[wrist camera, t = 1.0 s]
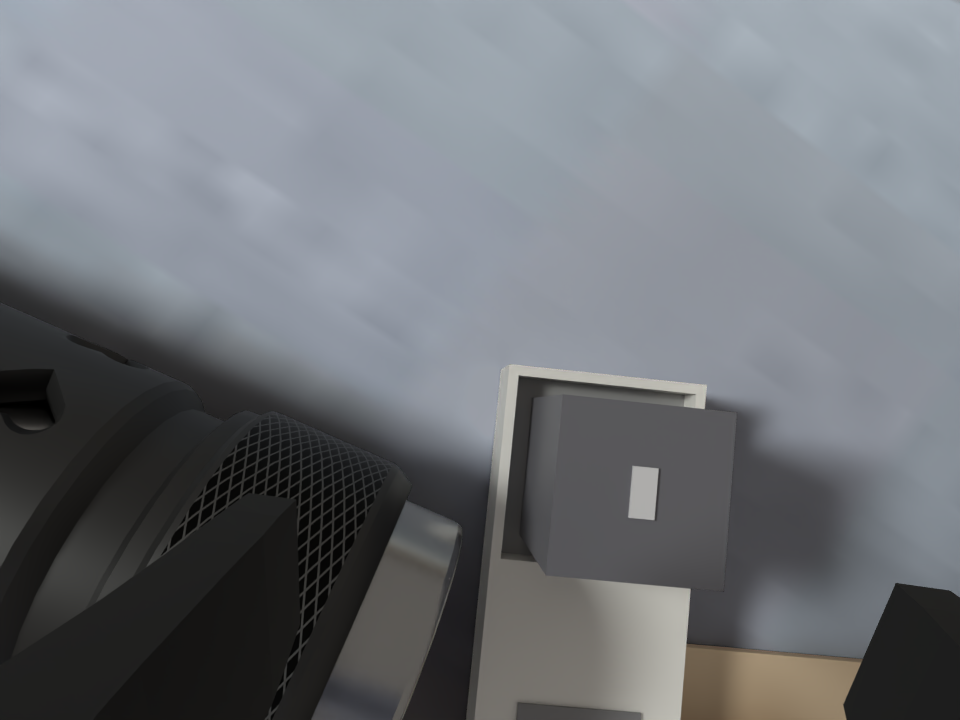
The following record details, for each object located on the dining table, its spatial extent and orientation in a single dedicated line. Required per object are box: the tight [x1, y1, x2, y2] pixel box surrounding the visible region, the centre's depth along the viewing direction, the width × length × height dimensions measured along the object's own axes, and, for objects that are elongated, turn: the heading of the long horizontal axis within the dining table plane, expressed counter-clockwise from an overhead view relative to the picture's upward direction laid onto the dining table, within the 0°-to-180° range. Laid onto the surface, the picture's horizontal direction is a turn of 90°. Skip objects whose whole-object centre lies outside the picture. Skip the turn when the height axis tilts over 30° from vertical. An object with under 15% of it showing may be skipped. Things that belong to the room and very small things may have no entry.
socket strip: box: [466, 364, 707, 720], centre depth 22 cm, size 20×6×4 cm, turn 174°
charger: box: [519, 394, 737, 592], centre depth 20 cm, size 4×4×6 cm
